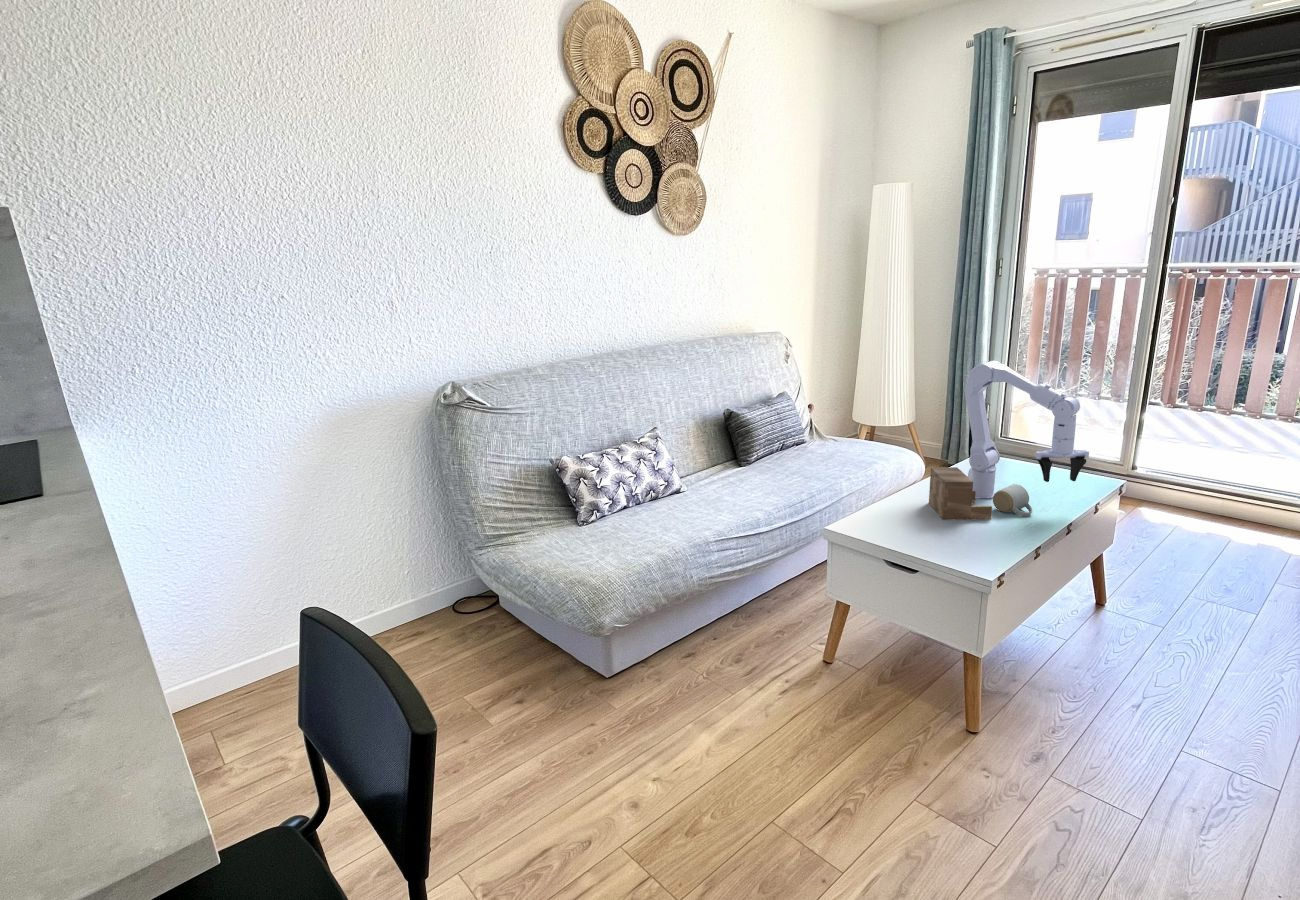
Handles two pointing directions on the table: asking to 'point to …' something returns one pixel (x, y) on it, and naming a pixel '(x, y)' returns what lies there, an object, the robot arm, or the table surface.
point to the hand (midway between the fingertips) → (1059, 480)
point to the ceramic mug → (1012, 500)
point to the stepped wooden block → (954, 495)
